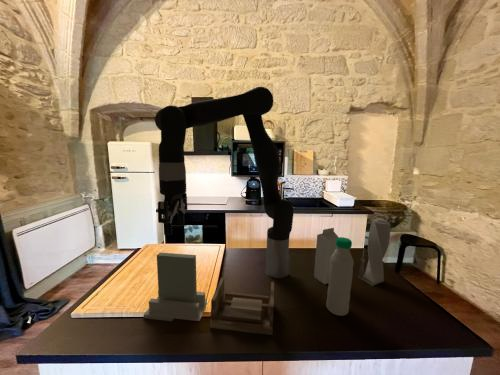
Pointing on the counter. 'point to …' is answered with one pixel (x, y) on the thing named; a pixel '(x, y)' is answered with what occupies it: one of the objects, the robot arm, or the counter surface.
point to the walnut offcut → (236, 319)
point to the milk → (324, 254)
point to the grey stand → (176, 309)
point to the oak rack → (217, 322)
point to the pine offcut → (246, 308)
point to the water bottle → (340, 278)
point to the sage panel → (177, 277)
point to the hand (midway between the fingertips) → (174, 229)
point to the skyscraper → (376, 251)
